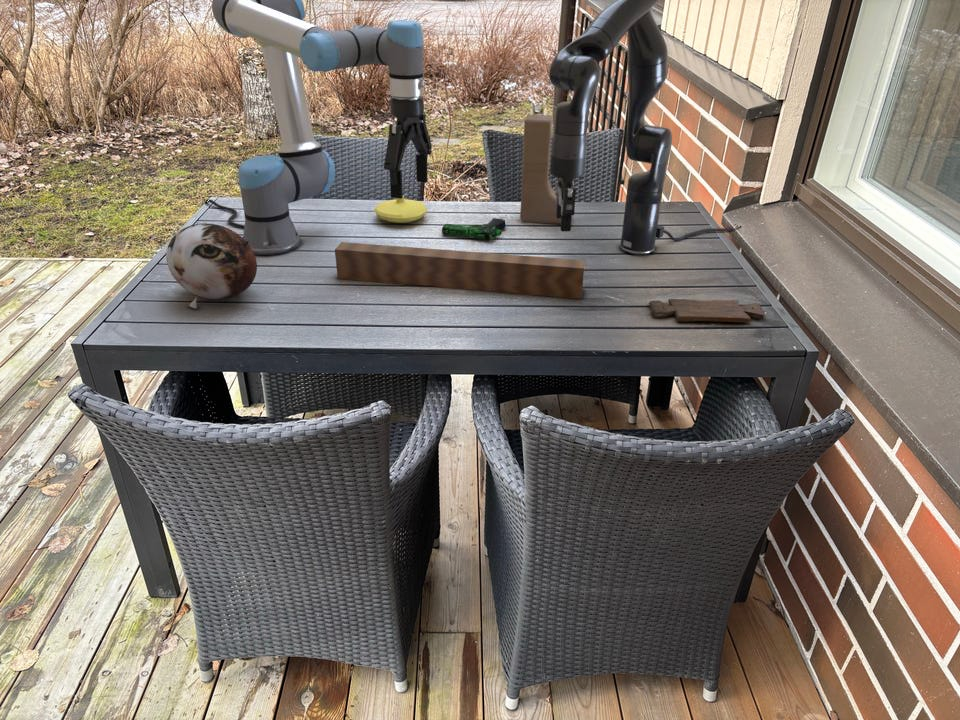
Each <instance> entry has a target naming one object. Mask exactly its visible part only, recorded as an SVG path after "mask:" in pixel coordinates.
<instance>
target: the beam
mask: <svg viewBox="0 0 960 720" xmlns="http://www.w3.org/2000/svg"><path fill="white" fill-rule="evenodd" d="M334 253H335V254H334V256H335V265H336V275H337V279H338V280H351V281H363V282H375V283H387V284H400V285H411V286H422V287H423V286H424V287H434V288H435V287H436V288H446V289H447V288H448V289H459V290H471V291H484V292H497V293H508V294H509V293H510V294H519V295H520V294H521V295H533V296H545V297H557V298H570V299H582V297H583V287H584V276H585V264H586V260H585V259H573V258H572V259H571V258H561V257H560V258H559V257H546V256H534V255H533V256H532V255H519V254H506V253H505V254H504V253H491V252H479V251H478V252H477V251H465V250H452V249H442V248H441V249H439V248H429V247H427V248H426V247H415V246H413V247H412V246H398V245H385V244H375V243H374V244H373V243H362V242H361V243H359V242H347V241H341V242H340V243H339V244H338V245H337V246H336V247H335V248H334Z"/></svg>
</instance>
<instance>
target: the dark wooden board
mask: <svg viewBox="0 0 960 720" xmlns="http://www.w3.org/2000/svg"><path fill="white" fill-rule="evenodd" d="M667 302H668V303H667ZM667 302H664V301H661V300H650V301H649V302H648V304H649V306H650V311H651V314H652V316H653V317H654V318H661V319H662V318H667V317H671V316H673V315H674V316H675V319H676V321H677V322H723V323H749V322H751V318H754V319H760V320H761V319H764V317H765V312H764V311H763V308H762V306H761V305H760V304H759V303H757V302H754V303H753V302H752V303H749V304H744V305H740V303H739V300H737V299H736V300H735V299H713V300H712V299H710V300H709V299H707V300H706V299H705V300H702V299H687V298H681V299H680V298H679V299H678V298H669V299H668V301H667Z"/></svg>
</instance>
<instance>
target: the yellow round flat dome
mask: <svg viewBox="0 0 960 720" xmlns="http://www.w3.org/2000/svg"><path fill="white" fill-rule="evenodd" d="M427 211H428V208H427V206H426V205H425V204H424V203H423V202H421V201H418V200H414V199H406V198H405V195H403V198H402V199H399V198H395V199H390V200H385V201H382V202H380V203H378V204H377V205H376V206H375V208H374V213H375V215H376V217H377V218H379V219H381V220H383V221H386V222H388V223H393V224H407V223H412V222H416V221H417V220H420V219H422V218H423V217H424V216H426V214H427Z"/></svg>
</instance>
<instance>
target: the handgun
mask: <svg viewBox="0 0 960 720" xmlns="http://www.w3.org/2000/svg"><path fill="white" fill-rule="evenodd" d="M505 228H506V220H505V219H503V218H497V217H492V219H491V220H490V221H489V222H488V223H483V224H482V225H479V224H472V225H459V224H453V223H445V224H443V226H442V227H441V235H446V236H454V237H462V238H469V239H470V238H471V239H474V240H479V241H484V242H491V241H492V240H494V239H495V238H497V237H500V236H502V230H504V229H505Z"/></svg>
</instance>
